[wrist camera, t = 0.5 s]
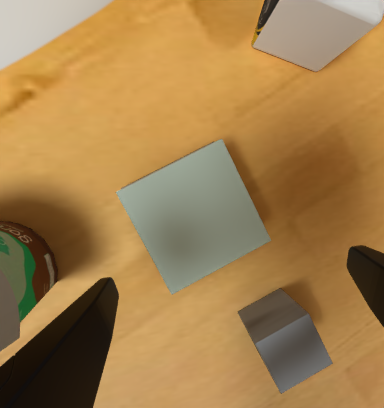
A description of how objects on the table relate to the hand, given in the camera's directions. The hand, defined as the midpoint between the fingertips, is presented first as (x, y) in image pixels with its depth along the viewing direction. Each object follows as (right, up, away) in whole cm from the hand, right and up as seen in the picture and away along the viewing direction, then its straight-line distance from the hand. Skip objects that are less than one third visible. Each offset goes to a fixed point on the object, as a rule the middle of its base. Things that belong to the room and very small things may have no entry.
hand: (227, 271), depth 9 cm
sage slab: (-1, +2, +12) cm, 12 cm away
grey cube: (+7, -9, +15) cm, 19 cm away
